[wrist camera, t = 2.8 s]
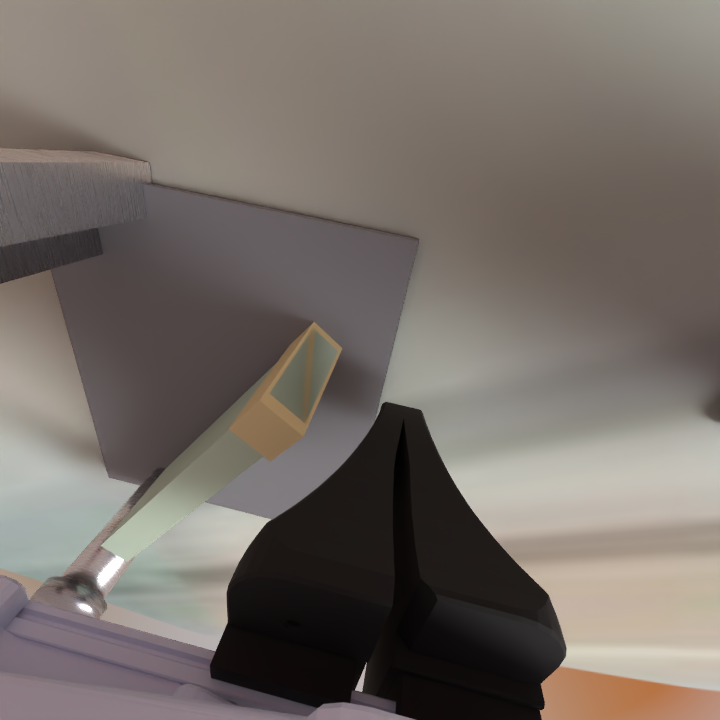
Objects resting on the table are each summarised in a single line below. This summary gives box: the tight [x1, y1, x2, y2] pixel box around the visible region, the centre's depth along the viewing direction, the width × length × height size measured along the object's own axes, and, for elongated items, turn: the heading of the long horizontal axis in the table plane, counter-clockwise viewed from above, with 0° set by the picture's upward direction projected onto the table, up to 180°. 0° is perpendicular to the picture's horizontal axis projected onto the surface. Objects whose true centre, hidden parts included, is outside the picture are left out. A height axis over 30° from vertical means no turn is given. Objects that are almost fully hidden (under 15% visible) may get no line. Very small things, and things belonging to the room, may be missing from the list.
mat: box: [51, 183, 419, 519], centre depth 15 cm, size 13×15×1 cm
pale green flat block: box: [101, 322, 342, 562], centre depth 13 cm, size 1×11×5 cm, turn 135°
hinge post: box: [31, 468, 166, 619], centre depth 16 cm, size 2×2×7 cm
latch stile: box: [0, 148, 152, 284], centre depth 10 cm, size 3×3×5 cm
